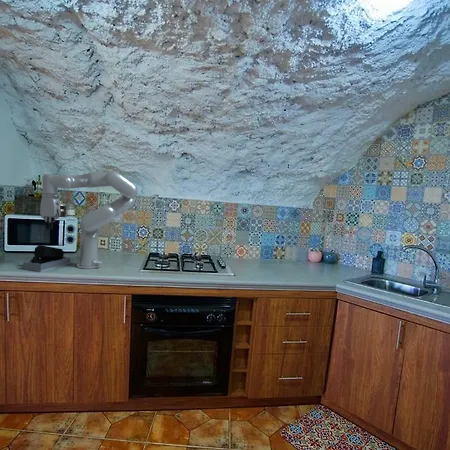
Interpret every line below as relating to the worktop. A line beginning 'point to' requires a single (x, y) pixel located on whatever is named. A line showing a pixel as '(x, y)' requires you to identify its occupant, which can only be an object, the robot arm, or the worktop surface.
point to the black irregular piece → (47, 254)
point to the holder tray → (46, 264)
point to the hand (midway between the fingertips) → (49, 229)
